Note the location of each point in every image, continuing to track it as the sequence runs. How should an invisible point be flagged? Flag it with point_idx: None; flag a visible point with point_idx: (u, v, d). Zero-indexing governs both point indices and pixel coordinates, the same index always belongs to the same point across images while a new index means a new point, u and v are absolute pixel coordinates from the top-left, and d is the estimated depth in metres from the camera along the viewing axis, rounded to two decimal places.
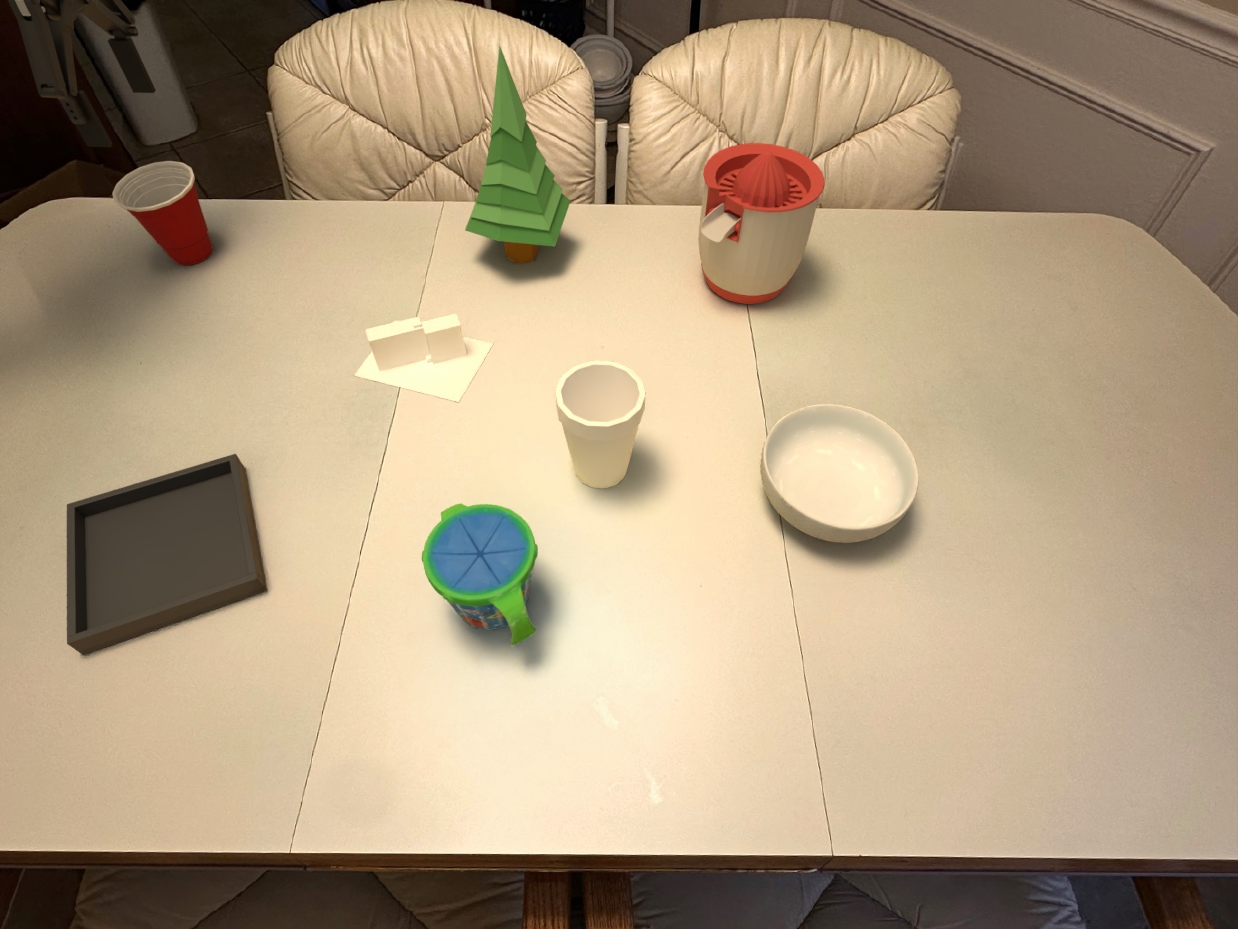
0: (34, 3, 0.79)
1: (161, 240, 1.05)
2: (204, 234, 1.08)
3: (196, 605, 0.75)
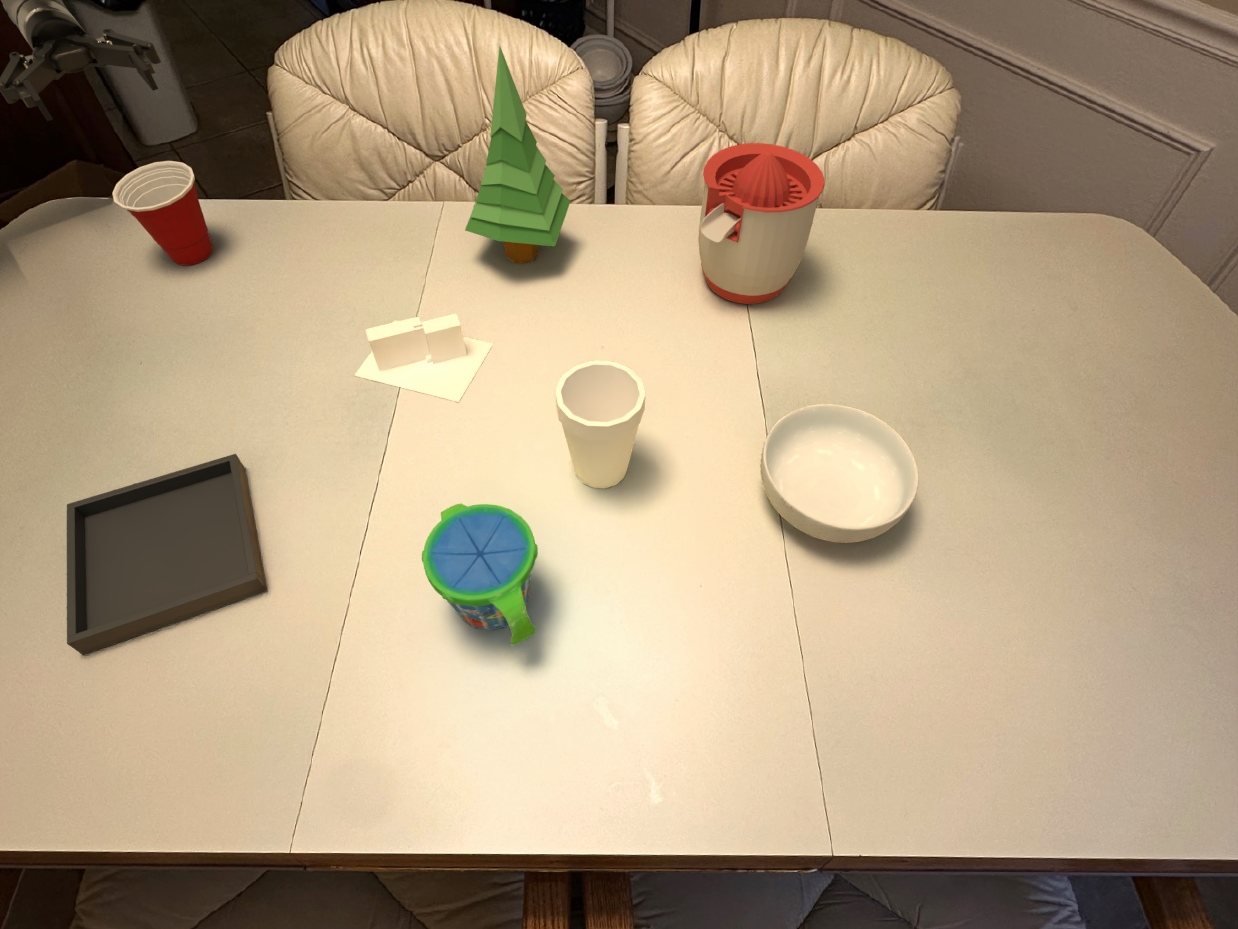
0: None
1: (161, 240, 1.05)
2: (204, 234, 1.08)
3: (196, 605, 0.75)
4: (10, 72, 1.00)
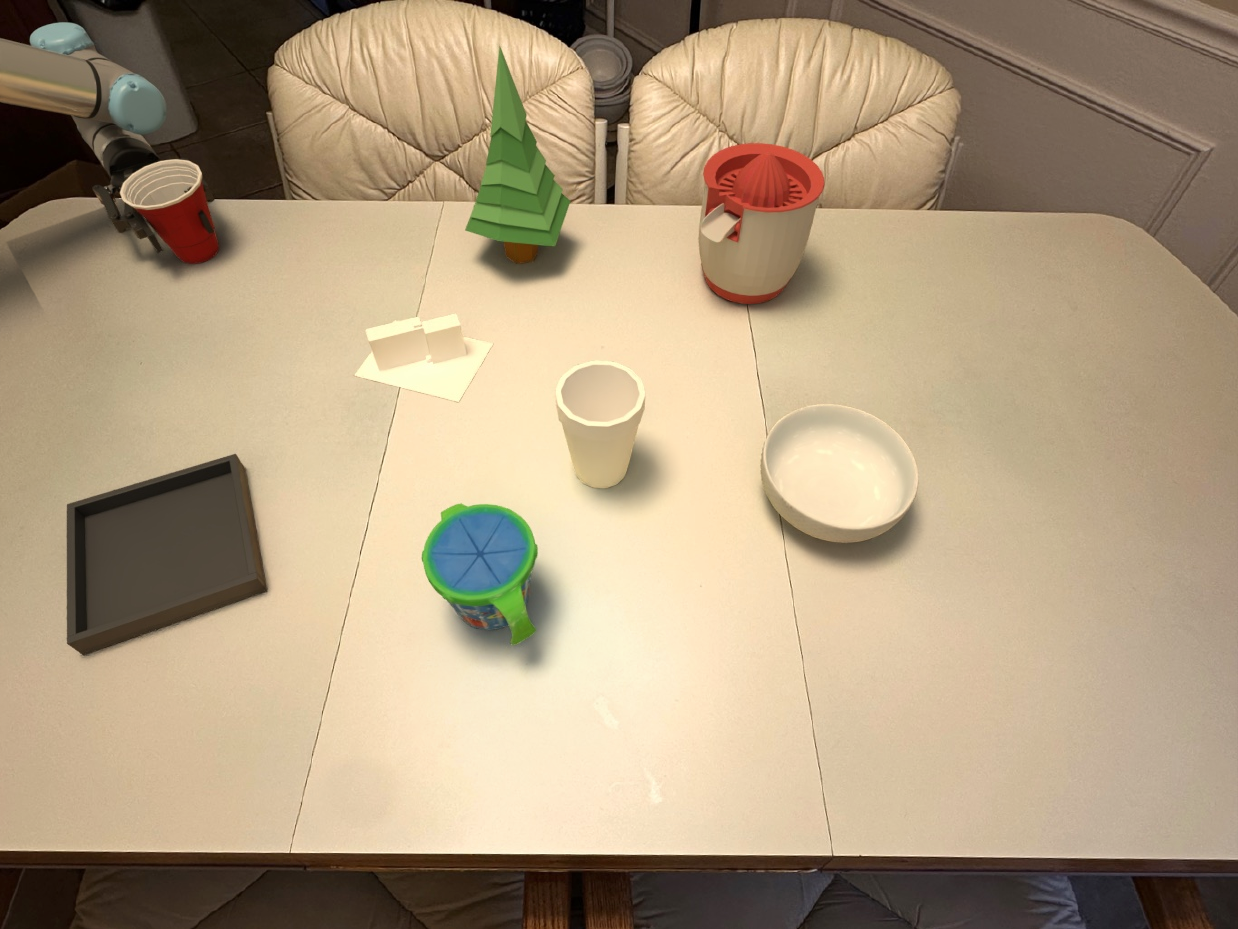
0: None
1: (169, 238, 1.05)
2: None
3: (196, 605, 0.75)
4: (112, 204, 1.05)
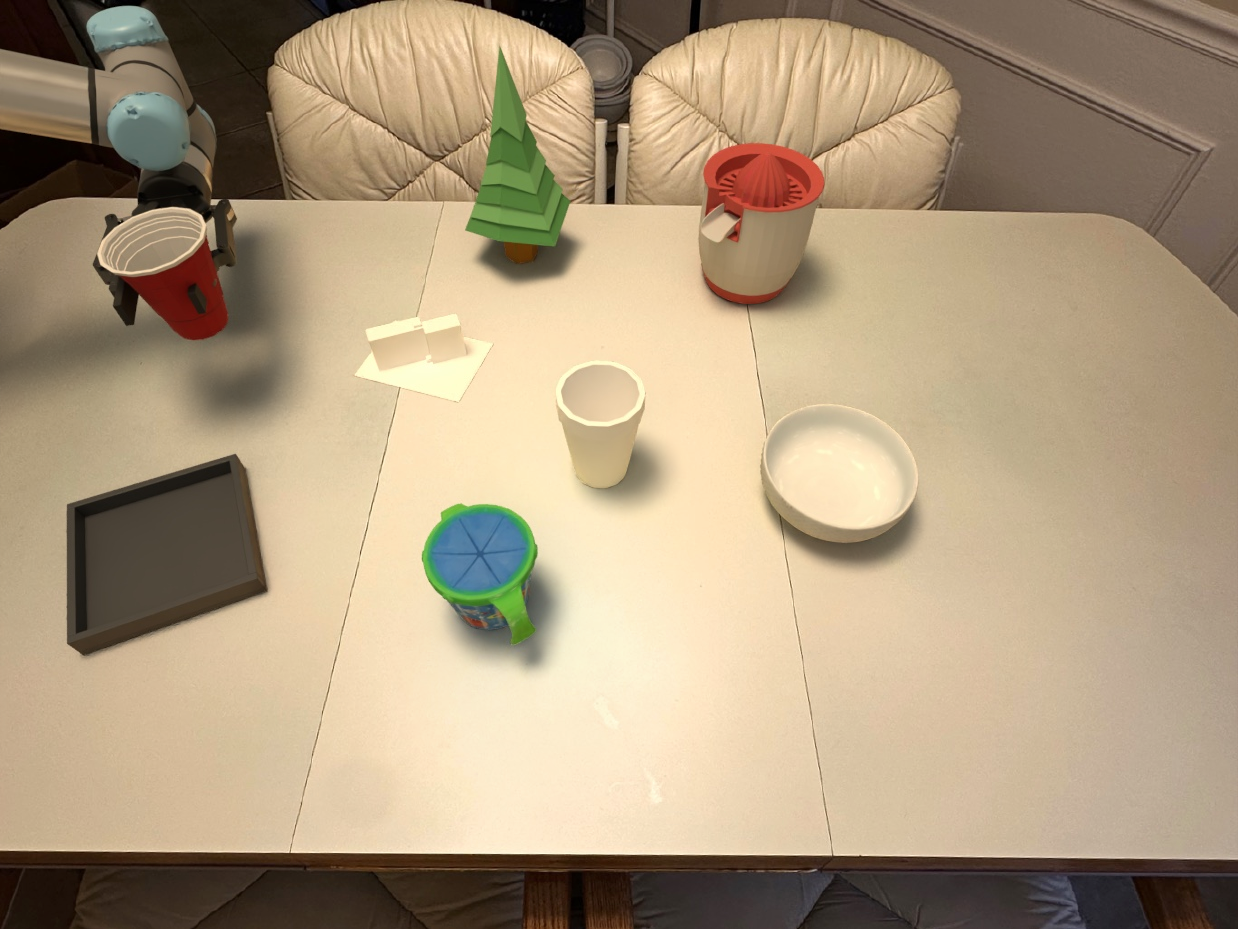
0: None
1: (153, 307, 0.80)
2: (212, 308, 0.82)
3: (196, 605, 0.75)
4: None
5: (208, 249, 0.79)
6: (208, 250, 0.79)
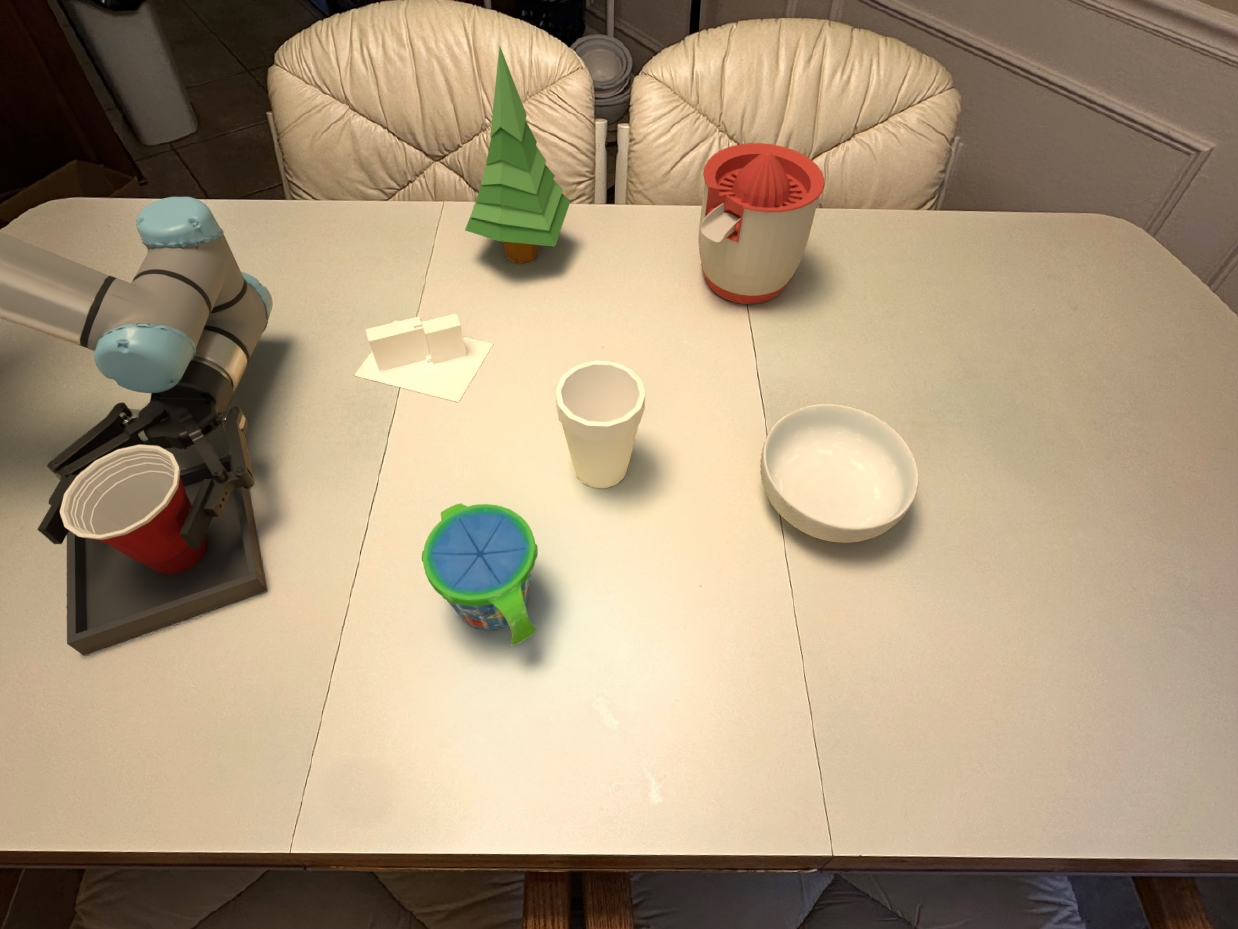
0: None
1: None
2: (178, 554, 0.75)
3: (196, 605, 0.75)
4: (80, 446, 0.77)
5: (178, 503, 0.72)
6: (178, 504, 0.72)
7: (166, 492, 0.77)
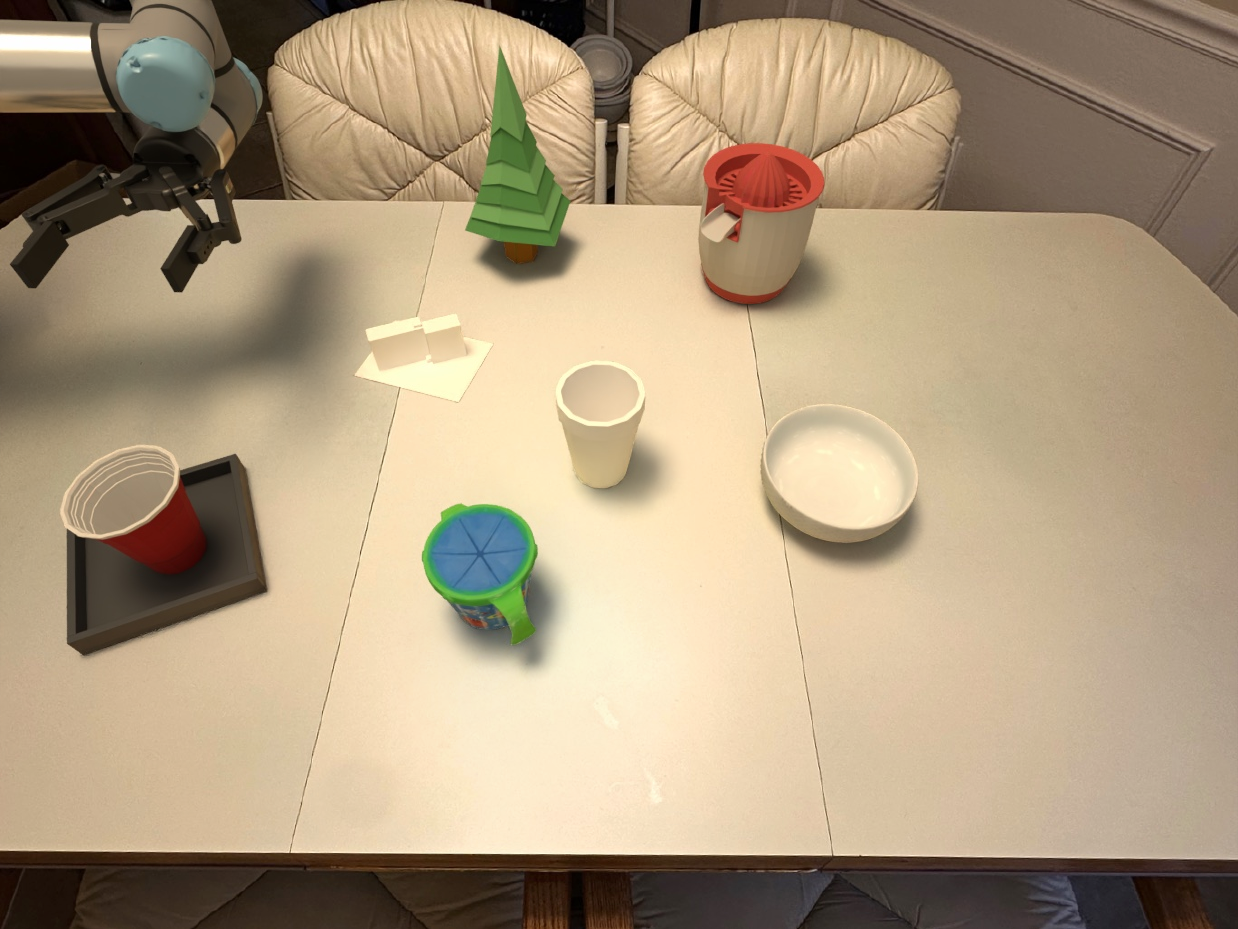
0: None
1: None
2: (178, 554, 0.75)
3: (196, 605, 0.75)
4: (57, 199, 0.73)
5: (178, 503, 0.72)
6: (178, 504, 0.72)
7: (166, 492, 0.77)
